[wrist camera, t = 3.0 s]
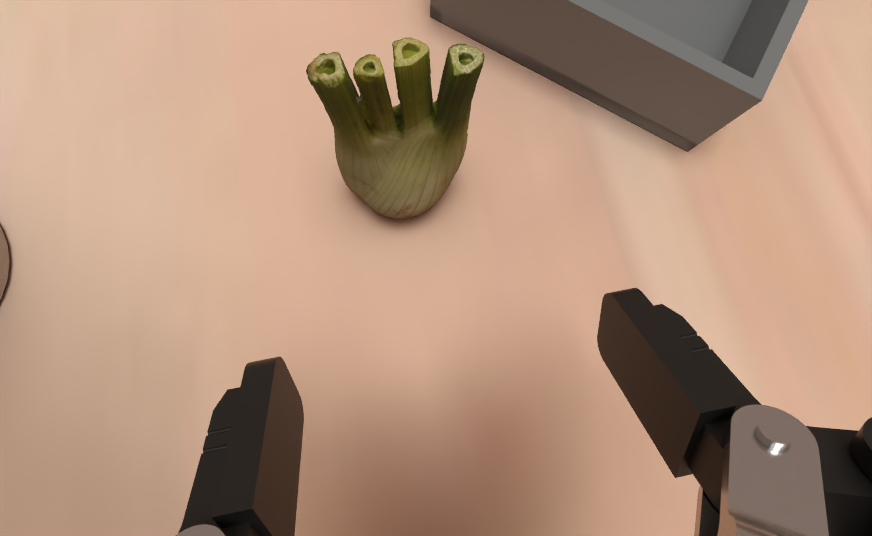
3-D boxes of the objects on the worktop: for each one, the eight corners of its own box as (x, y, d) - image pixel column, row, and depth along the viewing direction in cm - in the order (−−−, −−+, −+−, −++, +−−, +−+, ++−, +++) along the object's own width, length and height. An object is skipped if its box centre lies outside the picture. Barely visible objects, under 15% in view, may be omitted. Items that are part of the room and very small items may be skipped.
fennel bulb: (463, 164, 27) (499, 27, 15) (434, 241, 26) (447, 161, 14) (371, 130, 27) (333, -33, 15) (339, 206, 26) (272, 97, 14)
